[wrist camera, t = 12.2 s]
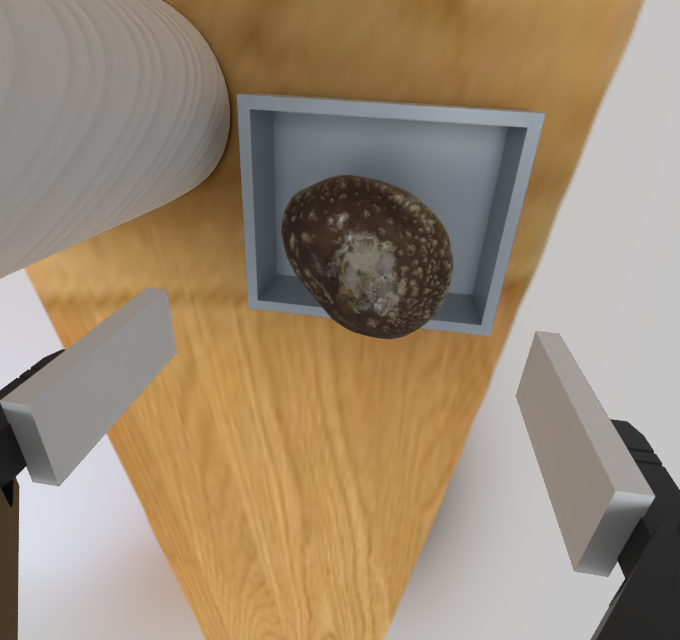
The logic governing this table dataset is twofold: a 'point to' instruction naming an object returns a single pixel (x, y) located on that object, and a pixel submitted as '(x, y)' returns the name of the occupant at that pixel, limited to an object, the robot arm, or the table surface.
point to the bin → (393, 168)
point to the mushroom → (368, 254)
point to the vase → (99, 119)
